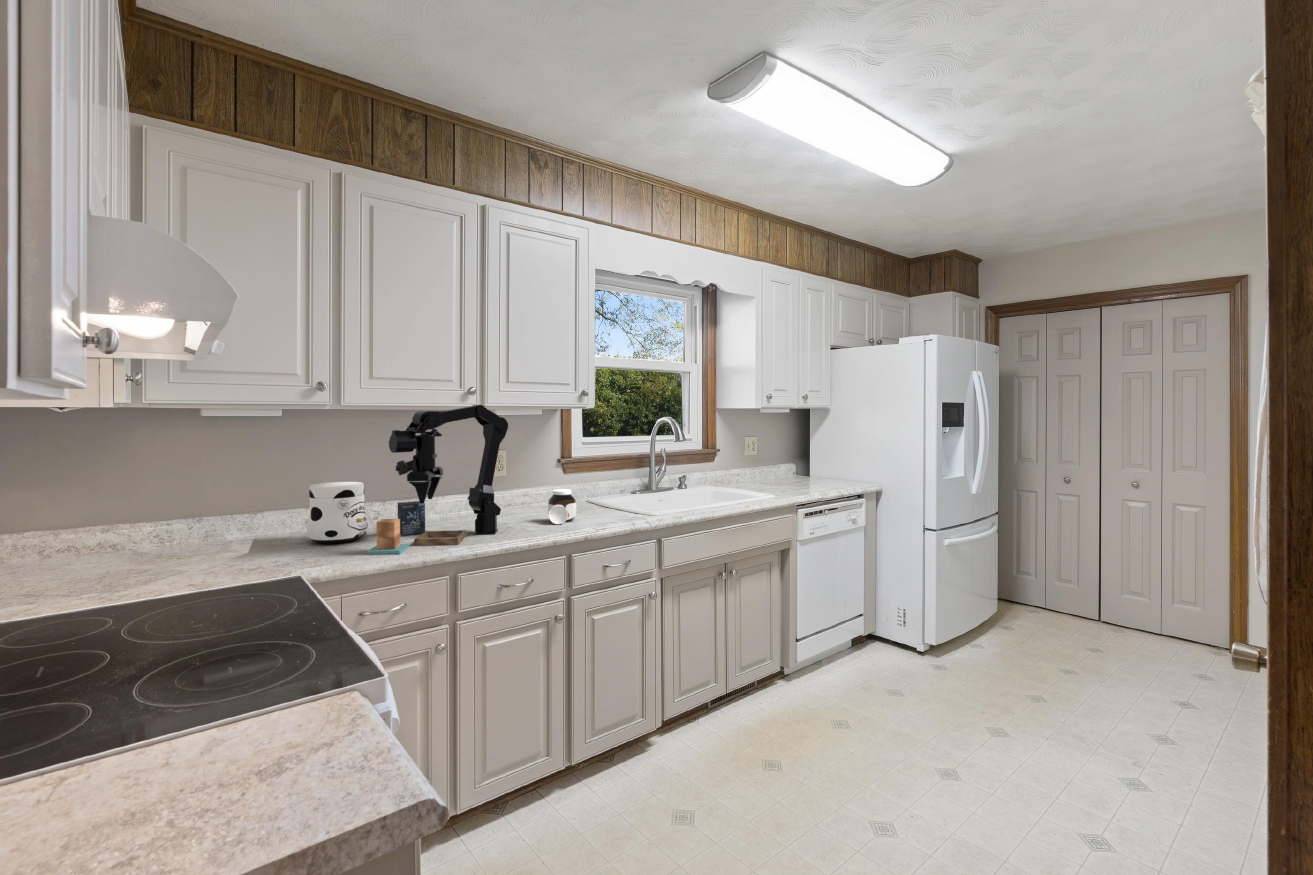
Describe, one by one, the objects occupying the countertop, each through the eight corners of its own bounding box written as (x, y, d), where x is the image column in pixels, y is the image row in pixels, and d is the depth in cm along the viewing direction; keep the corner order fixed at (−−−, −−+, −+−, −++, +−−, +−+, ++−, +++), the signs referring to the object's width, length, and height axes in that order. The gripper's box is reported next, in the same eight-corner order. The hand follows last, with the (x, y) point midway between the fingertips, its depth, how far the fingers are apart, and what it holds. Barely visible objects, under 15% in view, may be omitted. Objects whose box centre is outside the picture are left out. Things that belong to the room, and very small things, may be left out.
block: (400, 545, 184) (399, 518, 183) (394, 549, 179) (394, 521, 178) (382, 545, 183) (382, 519, 183) (376, 549, 178) (376, 522, 178)
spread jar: (570, 518, 236) (570, 488, 236) (582, 522, 227) (582, 491, 226) (540, 521, 230) (540, 490, 230) (552, 526, 220) (551, 493, 220)
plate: (409, 547, 186) (409, 543, 186) (399, 554, 177) (399, 550, 177) (378, 547, 185) (378, 544, 185) (367, 554, 176) (367, 551, 176)
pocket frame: (467, 536, 202) (466, 530, 202) (458, 544, 189) (458, 538, 189) (426, 537, 201) (426, 530, 201) (414, 545, 188) (414, 539, 188)
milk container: (370, 542, 193) (369, 485, 192) (306, 548, 184) (305, 488, 183) (366, 533, 208) (365, 480, 207) (307, 538, 199) (305, 483, 198)
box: (401, 536, 202) (400, 504, 202) (397, 533, 207) (397, 502, 206) (425, 533, 207) (425, 502, 206) (421, 531, 211) (421, 500, 211)
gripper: (407, 449, 200) (408, 497, 201) (388, 453, 181) (389, 506, 182) (443, 449, 201) (443, 496, 202) (427, 453, 182) (428, 505, 183)
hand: (426, 501), depth 192 cm, fingers open, 9 cm apart
